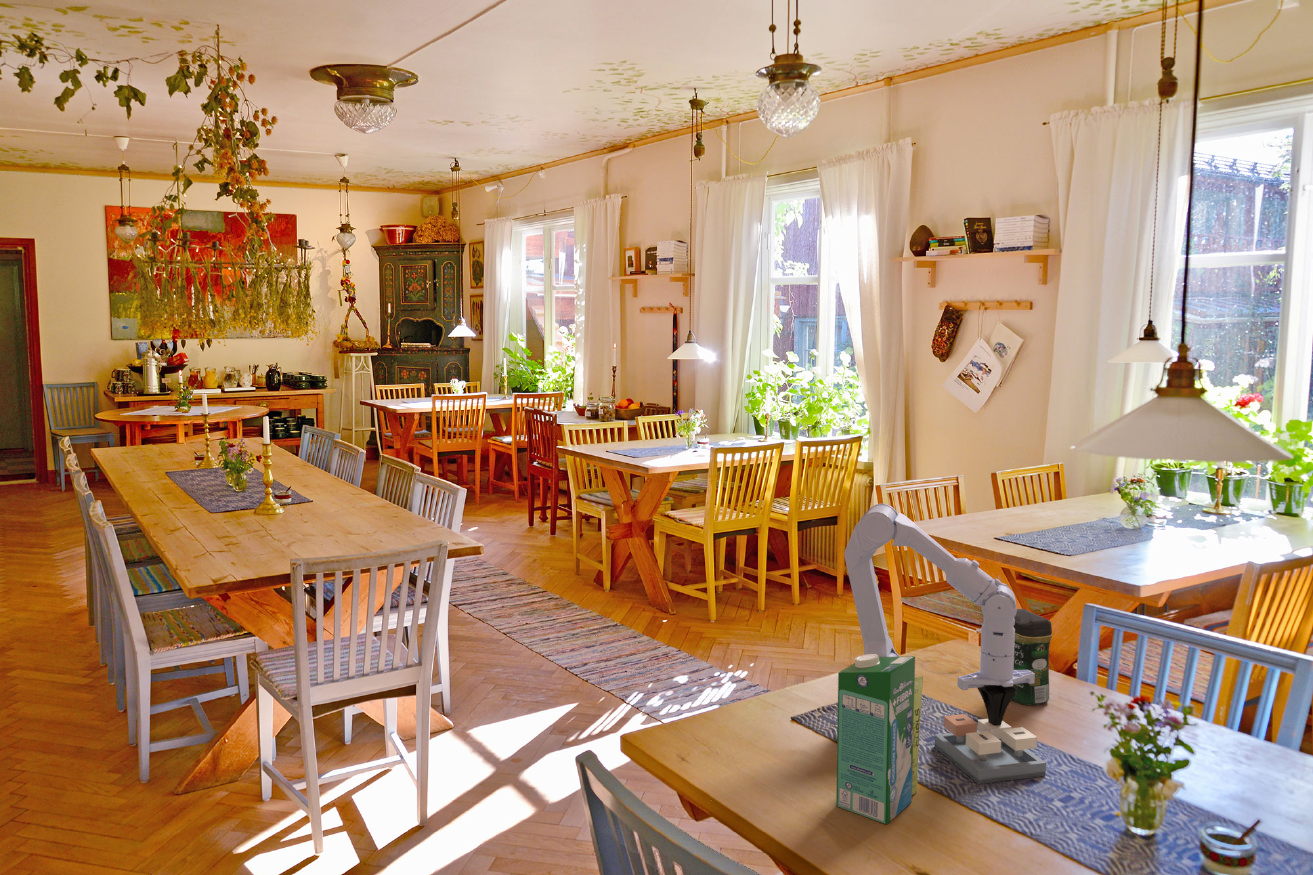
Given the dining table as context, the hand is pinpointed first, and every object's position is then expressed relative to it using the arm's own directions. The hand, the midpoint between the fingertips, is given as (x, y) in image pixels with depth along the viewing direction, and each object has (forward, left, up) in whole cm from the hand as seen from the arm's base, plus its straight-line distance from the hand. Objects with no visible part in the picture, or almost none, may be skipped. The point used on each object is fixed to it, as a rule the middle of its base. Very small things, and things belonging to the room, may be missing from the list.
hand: (994, 723), depth 168 cm
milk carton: (-30, -13, -5) cm, 33 cm away
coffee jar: (+20, +20, -5) cm, 29 cm away
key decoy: (-7, 0, -3) cm, 7 cm away
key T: (0, -7, -3) cm, 8 cm away
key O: (0, 0, -4) cm, 4 cm away
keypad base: (-4, -4, -5) cm, 7 cm away
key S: (-7, -7, -3) cm, 11 cm away
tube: (-24, -10, -5) cm, 26 cm away
